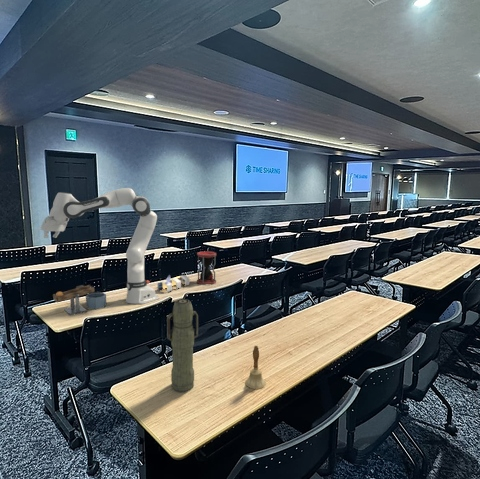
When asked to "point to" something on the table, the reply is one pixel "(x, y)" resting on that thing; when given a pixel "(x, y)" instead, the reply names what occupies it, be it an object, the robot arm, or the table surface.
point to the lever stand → (73, 308)
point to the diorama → (173, 282)
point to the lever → (71, 293)
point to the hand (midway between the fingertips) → (50, 237)
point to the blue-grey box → (96, 300)
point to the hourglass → (206, 267)
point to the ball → (59, 294)
